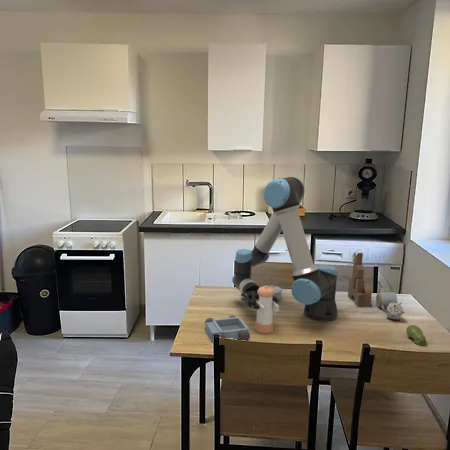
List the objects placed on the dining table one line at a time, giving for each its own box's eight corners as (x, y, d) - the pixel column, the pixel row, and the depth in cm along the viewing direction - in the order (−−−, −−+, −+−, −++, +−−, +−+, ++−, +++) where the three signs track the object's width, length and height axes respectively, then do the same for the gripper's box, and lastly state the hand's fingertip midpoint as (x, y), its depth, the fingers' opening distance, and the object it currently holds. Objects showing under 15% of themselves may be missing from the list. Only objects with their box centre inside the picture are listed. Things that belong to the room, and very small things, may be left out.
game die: (395, 325, 196) (410, 309, 195) (395, 326, 188) (410, 309, 187) (379, 312, 200) (393, 295, 199) (378, 312, 192) (393, 295, 191)
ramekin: (279, 294, 220) (279, 285, 219) (283, 303, 209) (283, 293, 208) (257, 294, 220) (257, 284, 219) (260, 303, 209) (260, 292, 208)
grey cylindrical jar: (374, 304, 211) (376, 289, 209) (391, 304, 211) (393, 289, 209) (381, 313, 201) (383, 297, 199) (399, 314, 201) (401, 298, 199)
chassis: (237, 323, 186) (237, 314, 185) (250, 340, 171) (251, 331, 170) (203, 327, 181) (203, 318, 180) (214, 345, 166) (214, 335, 165)
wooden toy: (371, 307, 207) (376, 257, 202) (357, 307, 207) (362, 256, 202) (359, 295, 222) (363, 248, 217) (346, 295, 222) (350, 248, 217)
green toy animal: (417, 322, 178) (431, 337, 169) (415, 333, 180) (428, 348, 171) (405, 322, 178) (418, 337, 168) (402, 333, 179) (415, 348, 170)
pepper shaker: (253, 331, 178) (255, 287, 174) (257, 324, 185) (259, 281, 181) (270, 334, 176) (272, 290, 172) (274, 327, 183) (277, 284, 179)
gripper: (268, 295, 198) (291, 316, 176) (230, 299, 192) (248, 321, 171) (269, 280, 196) (292, 299, 175) (230, 283, 191) (249, 303, 169)
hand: (270, 309), depth 173 cm, fingers closed on pepper shaker, 5 cm apart
